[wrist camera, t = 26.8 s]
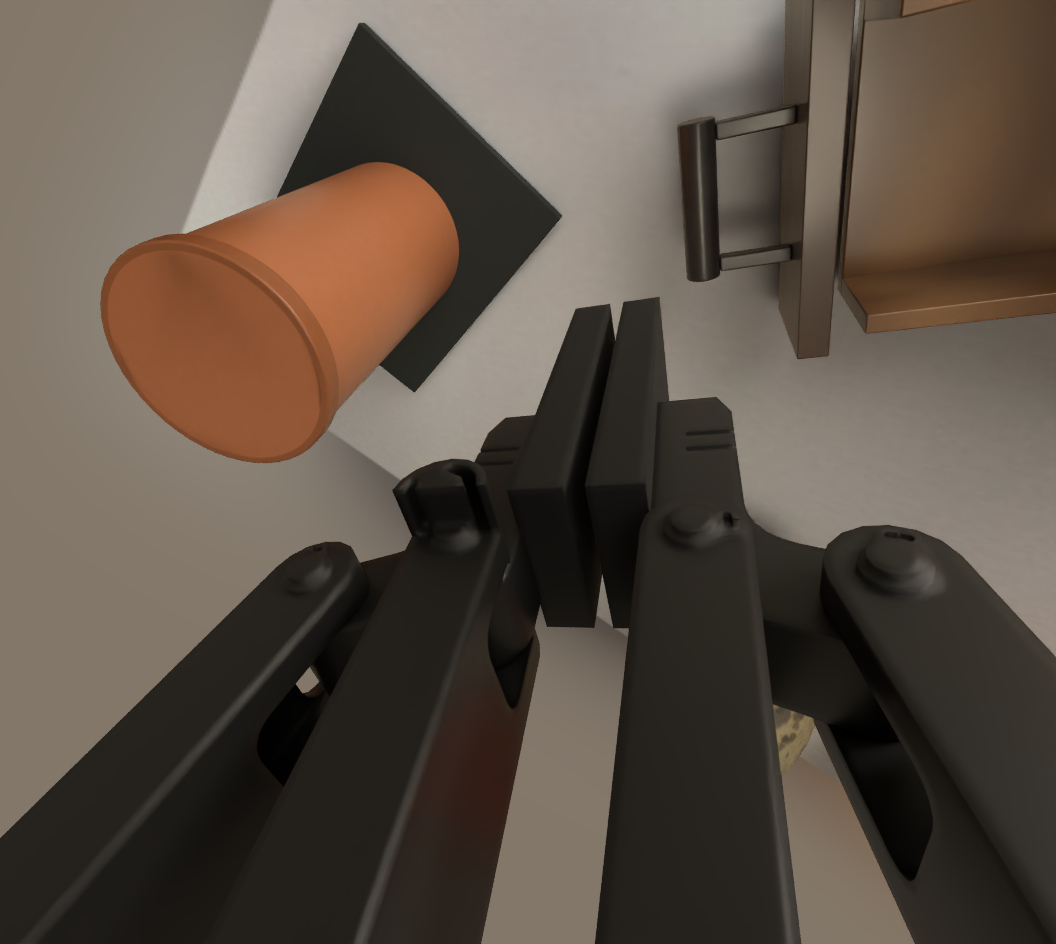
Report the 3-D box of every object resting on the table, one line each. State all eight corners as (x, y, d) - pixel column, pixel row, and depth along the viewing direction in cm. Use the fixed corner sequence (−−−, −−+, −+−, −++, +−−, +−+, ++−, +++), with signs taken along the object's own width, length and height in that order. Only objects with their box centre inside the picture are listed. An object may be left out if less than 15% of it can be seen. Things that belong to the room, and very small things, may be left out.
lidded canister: (319, 137, 29) (68, 207, 17) (473, 182, 28) (328, 284, 17) (321, 291, 34) (129, 427, 22) (452, 330, 33) (329, 489, 22)
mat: (364, 22, 26) (358, 22, 25) (562, 215, 29) (560, 218, 29) (252, 256, 34) (246, 259, 33) (417, 388, 37) (414, 392, 36)
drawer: (690, 319, 30) (692, 370, 25) (671, 23, 23) (669, 20, 19) (1180, 257, 24) (1296, 308, 20) (1347, -162, 17) (1583, -233, 13)
